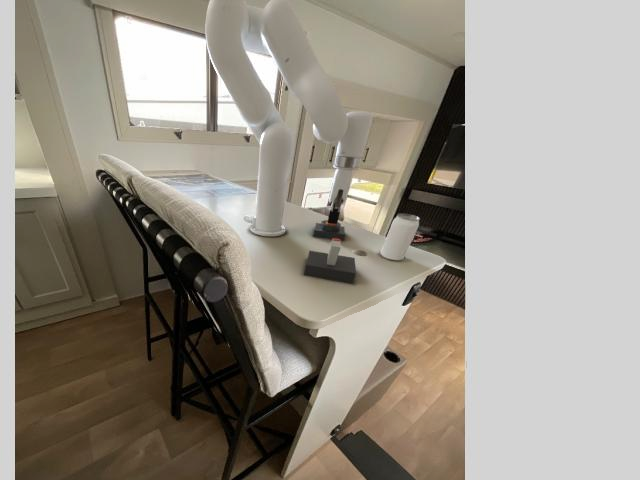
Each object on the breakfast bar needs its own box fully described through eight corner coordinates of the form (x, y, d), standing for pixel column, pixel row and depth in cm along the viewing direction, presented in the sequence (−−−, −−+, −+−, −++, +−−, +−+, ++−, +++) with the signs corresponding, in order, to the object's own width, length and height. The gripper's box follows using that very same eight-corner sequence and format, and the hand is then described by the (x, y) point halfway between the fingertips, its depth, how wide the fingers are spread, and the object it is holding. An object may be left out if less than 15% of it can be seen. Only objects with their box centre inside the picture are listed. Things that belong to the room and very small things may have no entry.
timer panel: (303, 274, 65) (306, 264, 63) (307, 260, 72) (309, 250, 70) (352, 283, 62) (356, 273, 60) (351, 267, 69) (354, 257, 67)
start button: (324, 228, 86) (325, 223, 85) (324, 225, 89) (326, 220, 88) (335, 230, 86) (336, 225, 85) (335, 226, 88) (336, 221, 87)
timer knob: (335, 265, 63) (340, 246, 60) (326, 264, 63) (332, 245, 60) (335, 257, 67) (340, 238, 64) (327, 256, 67) (332, 237, 64)
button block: (312, 236, 87) (315, 224, 85) (314, 228, 93) (317, 217, 91) (343, 240, 85) (346, 229, 82) (342, 232, 91) (345, 221, 89)
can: (406, 262, 73) (425, 221, 66) (382, 259, 74) (399, 219, 67) (399, 253, 78) (416, 214, 71) (377, 250, 79) (392, 212, 72)
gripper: (334, 159, 82) (322, 215, 93) (333, 165, 71) (319, 228, 82) (358, 160, 81) (343, 217, 91) (361, 167, 69) (343, 231, 80)
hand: (332, 222), depth 86 cm, fingers closed
